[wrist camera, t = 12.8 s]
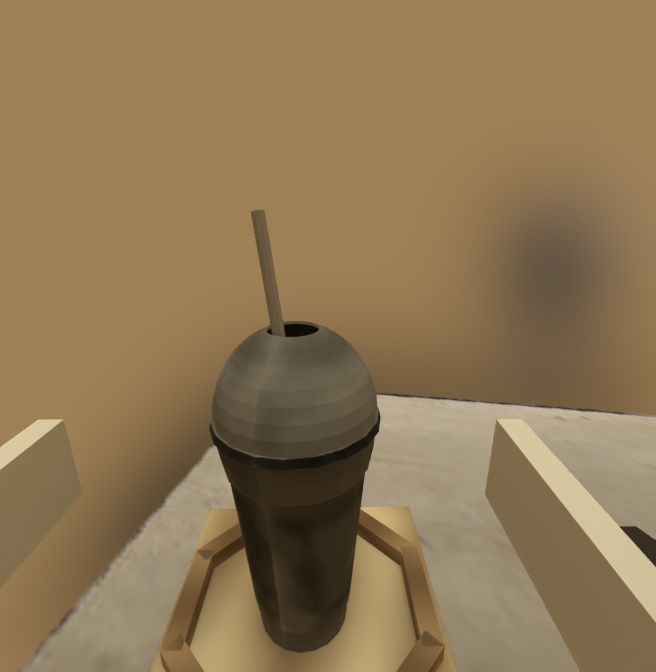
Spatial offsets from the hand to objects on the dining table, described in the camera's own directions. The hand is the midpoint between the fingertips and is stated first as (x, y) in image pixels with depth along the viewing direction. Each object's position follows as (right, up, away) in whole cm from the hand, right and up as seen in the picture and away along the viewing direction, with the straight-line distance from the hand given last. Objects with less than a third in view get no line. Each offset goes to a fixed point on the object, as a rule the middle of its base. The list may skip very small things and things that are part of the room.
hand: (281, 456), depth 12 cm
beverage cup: (0, -11, +9) cm, 14 cm away
